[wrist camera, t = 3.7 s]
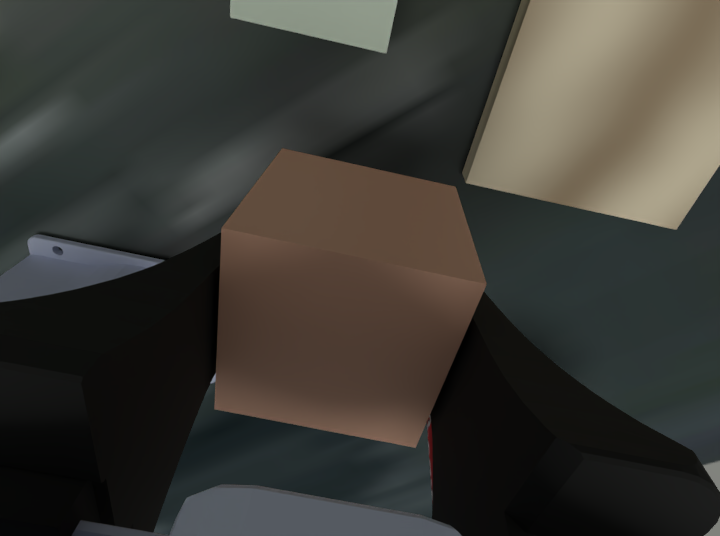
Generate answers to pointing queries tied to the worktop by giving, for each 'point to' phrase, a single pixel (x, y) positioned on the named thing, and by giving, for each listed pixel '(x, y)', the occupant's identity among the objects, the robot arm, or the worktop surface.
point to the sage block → (325, 19)
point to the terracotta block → (343, 298)
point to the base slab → (605, 107)
